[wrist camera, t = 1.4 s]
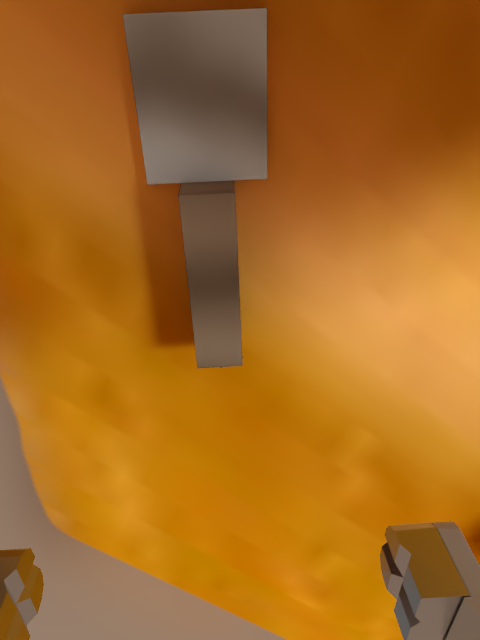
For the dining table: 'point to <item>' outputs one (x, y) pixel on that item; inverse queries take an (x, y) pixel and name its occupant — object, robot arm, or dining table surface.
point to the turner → (204, 146)
